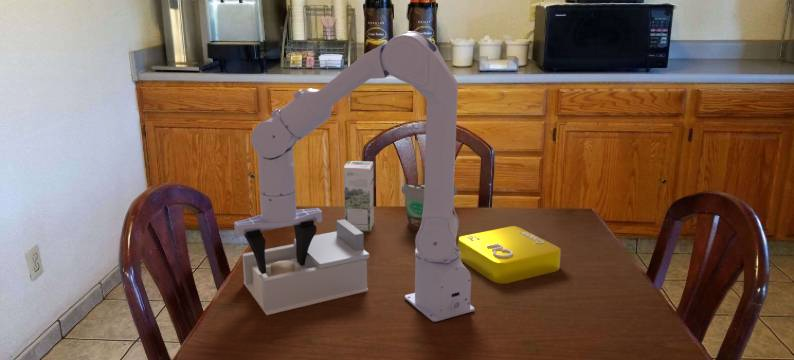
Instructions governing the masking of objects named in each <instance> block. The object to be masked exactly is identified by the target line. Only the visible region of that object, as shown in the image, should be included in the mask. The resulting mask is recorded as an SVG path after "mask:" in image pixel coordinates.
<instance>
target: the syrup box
mask: <svg viewBox="0 0 794 360" xmlns="http://www.w3.org/2000/svg"><path fill="white" fill-rule="evenodd" d="M343 196H344V197H343V198H344V199H343V200H344V201H343V202H344V219H345V220H346V221H348V222H349V223H350V224H352V225H353V226H354V227H356V228H357V229H358V230H360V231H361V232H362V233H364V232H365V233H366V232H368V233H369V232H371V231H372V228H373V226H374V224H373V223H375V220H374V219H375V214H374V212H375V211H374V161H361V160H359V161H358V160H355V161H354V160H348V161H346V163H345V164H344V166H343Z"/></svg>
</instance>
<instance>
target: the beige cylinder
mask: <svg viewBox="0 0 794 360" xmlns="http://www.w3.org/2000/svg"><path fill="white" fill-rule="evenodd" d="M294 271H295V266H294V263H293V262H291V261H277V262H274V263H272V264H271V276H275V275H280V274H285V273H289V272H294Z"/></svg>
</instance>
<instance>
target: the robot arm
mask: <svg viewBox="0 0 794 360" xmlns="http://www.w3.org/2000/svg"><path fill="white" fill-rule="evenodd" d="M389 76H392V77H394V78H395V79H397V80H400V81H402V82H404V83H406V84H408V85H410V86H412V88H414V89H415V90H416V92H417V91H418V93H420V95H422V96H423V98H425V100H426V117H425V146H424V147H425V148H424V149H425V152H424V153H425V154H424V205H423V213H422V221H421V226H420V229H419V231H418V232H417V233H416V235H415V239H414V244H415V249H414V251H415V252H414V253H415V258H414V259H415V262H414V263H415V264H414V268H415V269H414V273H415V274H414V292H413V293H409V294H405V296H404V299H405V300H406V301H407V302H409V303H410V304H411V305H412V306H413V307H415V308H416V309H417V310H418V311H419V312H421V313H422V314H423V315H424V316H425V317H427V318H428V319H429V320H430V321H432V322H434V323H435V322H440V321H444V320H446V319H450V318H454V317H457V316H462V315H464V314H468V313H471V312H474V311H475V307H474V306H473V305H472V304H471V296H472V294H471V293H472V275H471V272H470V271H469V269H468V268H466V266H465V264H463V261H461V258H460V249H459V248H458V243H457V234H458V231H459V228H460V221H459V217H458V215H457V213H456V210H455V195H454V184H455V167H456V166H455V165H456V146H457V144H456V143H457V142H456V141H457V122H458V121H457V116H458V92H459V86H458V81H457V79H456V78H455V76H454V75H453V72H452V71H451V69H450V68H449V66H448V64H447V62H446V61H445V59H444V57H443V56H442V54H441V52H440V50H439V48H438V45H436V44H435V43H434V42H433V41H431V40H430V39H429V38H427V36H425V35H424V34H422V33H420V32H418V31H414V30H412V31H411V30H409V31H406V32H402V33H401V34H399V35H397V36H394V37H392V38H391V39H389V40H388V41H387V42H385V43H383V44H381V45H378V46H377V47H375V48H373V49H371V50H370V51H368V52H366V53H364V54H362V55H361V56H360V57H359V58H357V59H356V60H355V61H354V62H352V63H351V64H350V65H349V66H347V67H346V68H345V69H344V70H342V71H341V72H340V73H339V74H337V76H335V77H334V78H333V79H331V80H330V81H329V82H328V83H326V85H324V86H323V87H322V88H320V89H316V88H310V87H308V88H307V89H305V90H303V89H299V90H297V91H296V92H294V94H292V96H293V97H294V98H293V99H292V100H291V101H289V102H288V103H287V104H285V105H284V106H282V107H281V108H280V109H279V108H276V109H274V110H273V111H272V112H271V113H270V114H271V116H272V117H270V118H269V119H267V120H264V121H260V122H259V123H258V124H257V126H256V127H255V128H254V129H253V131H252V132H251V133H252V134H251V136H250V137H251V138H250V141H251V146H252V148H253V151H255V152H256V154H257V167H258V168H257V169H258V179H259V180H258V181H259V182H258V183H259V196H260V197H259V198H260V199H259V200H260V213H261V214H259V215H256V216H252V217H248V218H246V219H242V220H237V221H234V222H233V225H234V226H233V228H234V234H235V235H236V236H237V237H243V236H244V238H245V240H246V241H247V243H248V245H249V247H250V249H251V250H252V251H251V252H253V253H254V256H255V258H256V261H257V265H258V270H259V271H260V272H261V274H265V273H266V263H265V249H266V241H267V240H266V238H264V236H263V233H262V232H264V231H270V230H274V229H281V228H287V227H292V226H293V228H294V229H293V230H294V235H295V239H296V257H297V262H298V263H299V264H300V265H301V266H303V265H305V261H306V256H307V252H308V249H309V246H310V243H311V241H312V239H313V237H314V235H317V225H315V222H316V223H322V222H323V211H322V210H321V209H320V208H318V207H316V208H305V209H304V208H303V209H297V198H296V197H297V196H296V181H295V180H296V177H295V176H296V174H295V162H294V146H295V145H296V144H297V142H299V141H301V140H303V139H304V138H306V137H307V136H308V135H309V134H310V133H312V132H313V131H315V130H316V129H317V128H319V127H320V126H322V125H323V124H324V123H326V122H327V121H328V120H329V119H331V117H332V109H333V106H334V105H335V104H337V103H338V102H339V101H341V100H342V99H344V98H345V97H346V96H347V95H350V93H352V92H354V91H355V90H356V89H358V88H359V87H361V86H362V85H363V84H365V83H366V82H368V81H369V80H372V79H373V80H375V79H386V78H388V77H389Z"/></svg>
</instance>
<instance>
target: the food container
mask: <svg viewBox="0 0 794 360" xmlns="http://www.w3.org/2000/svg"><path fill="white" fill-rule="evenodd" d="M424 184H425V183H424ZM424 184H415V183H414V184H413V183H406V179H404V180H403V183H402V187H401V189H400V191H401V193H402V194H403V195H404V200H405V210H406V219H407V221H406V222H407V227H408V228H409V229H410V230H412V231H414V232H417V233H418V231H419V229H420V226H421V221H422V213H423V205H424ZM457 194H458V190H457V186H456V184H455V183H454V196H456V195H457Z"/></svg>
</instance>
